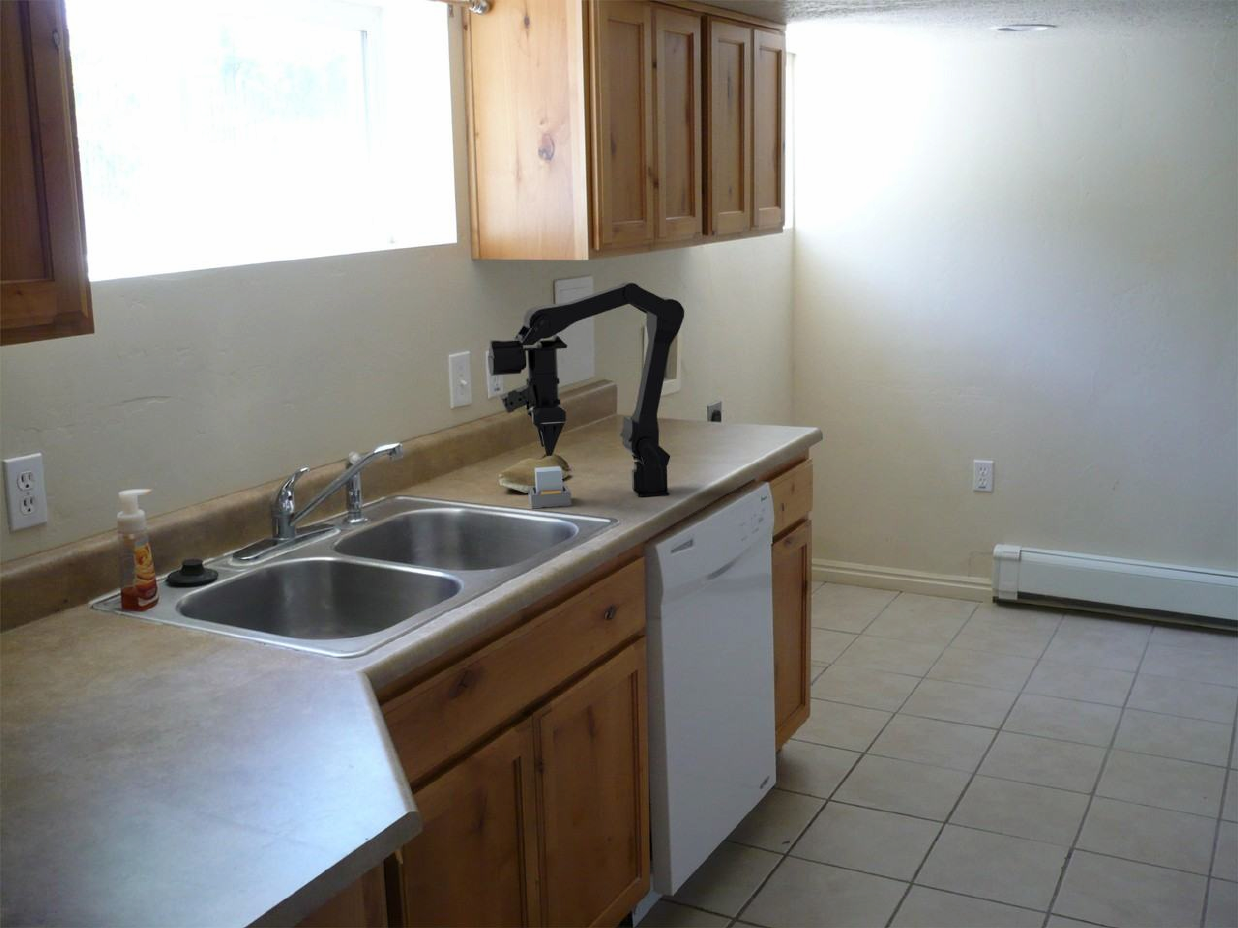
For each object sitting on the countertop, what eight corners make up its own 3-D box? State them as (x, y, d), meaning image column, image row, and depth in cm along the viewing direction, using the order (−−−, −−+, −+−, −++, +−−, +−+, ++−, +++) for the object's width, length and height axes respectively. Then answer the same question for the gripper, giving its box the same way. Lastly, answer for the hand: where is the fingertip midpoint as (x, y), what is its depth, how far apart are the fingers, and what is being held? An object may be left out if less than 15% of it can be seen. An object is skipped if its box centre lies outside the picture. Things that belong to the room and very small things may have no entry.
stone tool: (532, 465, 274) (488, 493, 251) (533, 448, 273) (489, 474, 250) (581, 474, 271) (541, 502, 248) (582, 456, 270) (542, 483, 247)
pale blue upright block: (561, 495, 244) (559, 466, 243) (563, 500, 240) (561, 470, 239) (536, 497, 243) (534, 467, 242) (538, 502, 239) (536, 472, 238)
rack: (567, 497, 246) (566, 482, 245) (571, 505, 239) (570, 490, 238) (528, 500, 245) (527, 485, 244) (531, 508, 238) (531, 493, 237)
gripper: (498, 368, 244) (502, 444, 247) (505, 381, 226) (509, 463, 229) (553, 365, 246) (556, 441, 249) (564, 378, 228) (568, 459, 231)
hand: (546, 451), depth 240 cm, fingers open, 9 cm apart
